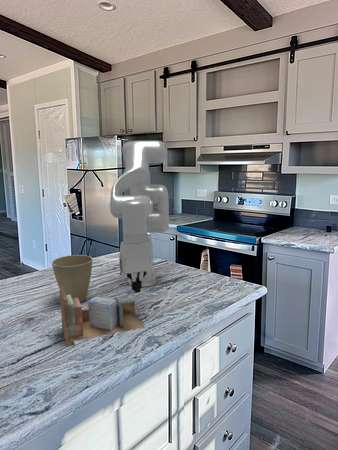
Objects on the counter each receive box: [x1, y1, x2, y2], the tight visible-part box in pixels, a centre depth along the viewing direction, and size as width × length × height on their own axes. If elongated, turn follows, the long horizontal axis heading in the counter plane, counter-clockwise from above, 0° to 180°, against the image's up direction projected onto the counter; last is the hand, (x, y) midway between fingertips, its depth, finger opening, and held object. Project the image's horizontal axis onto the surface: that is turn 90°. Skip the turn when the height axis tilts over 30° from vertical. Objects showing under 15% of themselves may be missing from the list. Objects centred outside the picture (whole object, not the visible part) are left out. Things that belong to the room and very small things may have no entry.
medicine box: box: [87, 296, 118, 330], centre depth 112 cm, size 8×4×9 cm, turn 68°
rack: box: [58, 286, 146, 347], centre depth 111 cm, size 24×12×14 cm, turn 113°
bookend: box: [112, 297, 123, 328], centre depth 114 cm, size 1×8×7 cm, turn 23°
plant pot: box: [51, 254, 94, 303], centre depth 135 cm, size 15×15×16 cm
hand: (136, 291), depth 118 cm, fingers closed
